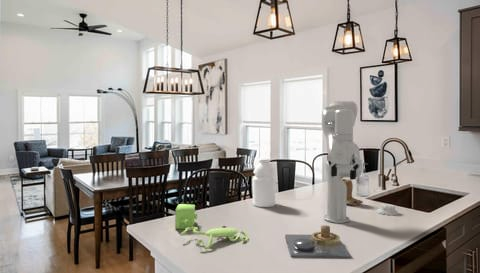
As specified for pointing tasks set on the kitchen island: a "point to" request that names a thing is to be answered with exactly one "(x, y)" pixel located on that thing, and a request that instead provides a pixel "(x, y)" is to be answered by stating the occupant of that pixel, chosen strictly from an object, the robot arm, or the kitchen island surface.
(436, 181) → the kitchen island surface
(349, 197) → the brown upright piece
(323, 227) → the planet gear
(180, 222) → the gearbox
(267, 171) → the bottle
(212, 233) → the figurine
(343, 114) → the robot arm
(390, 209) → the mechanical component
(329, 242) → the carrier plate
